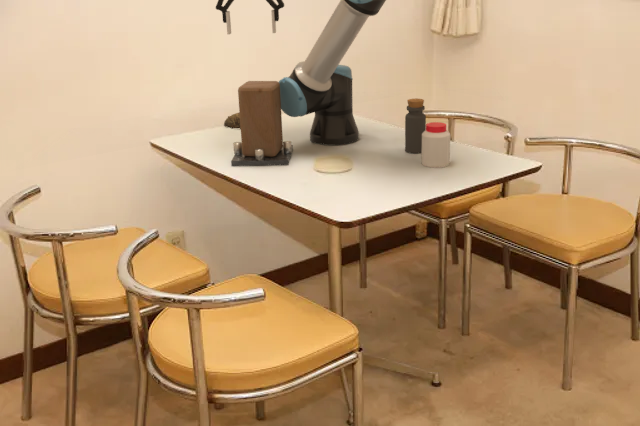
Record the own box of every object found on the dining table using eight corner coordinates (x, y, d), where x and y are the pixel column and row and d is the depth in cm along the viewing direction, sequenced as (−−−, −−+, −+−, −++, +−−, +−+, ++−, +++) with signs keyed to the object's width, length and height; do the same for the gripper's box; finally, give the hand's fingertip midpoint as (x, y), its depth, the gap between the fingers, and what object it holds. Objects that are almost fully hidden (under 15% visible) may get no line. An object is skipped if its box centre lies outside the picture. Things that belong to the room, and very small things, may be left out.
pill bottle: (432, 169, 210) (432, 129, 206) (415, 162, 216) (416, 123, 213) (455, 164, 213) (456, 125, 209) (438, 158, 220) (439, 119, 216)
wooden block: (275, 157, 220) (272, 87, 213) (241, 157, 222) (236, 87, 215) (283, 148, 229) (280, 80, 222) (251, 147, 231) (246, 80, 224)
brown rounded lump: (219, 126, 265) (218, 111, 263) (248, 119, 272) (247, 105, 271) (242, 132, 256) (241, 117, 254) (271, 125, 263) (271, 110, 262)
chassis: (294, 149, 233) (293, 134, 232) (289, 165, 218) (288, 150, 216) (238, 150, 234) (237, 135, 233) (229, 166, 219) (228, 151, 217)
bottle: (429, 150, 227) (430, 99, 222) (417, 154, 223) (417, 103, 218) (413, 147, 231) (413, 97, 226) (401, 151, 227) (401, 100, 222)
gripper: (290, -44, 230) (294, 30, 237) (207, -41, 231) (212, 32, 239) (288, -42, 223) (292, 33, 230) (202, -39, 224) (208, 36, 232)
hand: (251, 33), depth 234 cm, fingers open, 13 cm apart
